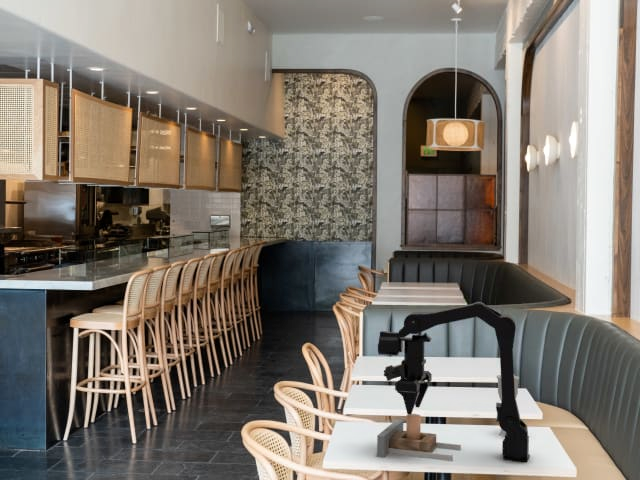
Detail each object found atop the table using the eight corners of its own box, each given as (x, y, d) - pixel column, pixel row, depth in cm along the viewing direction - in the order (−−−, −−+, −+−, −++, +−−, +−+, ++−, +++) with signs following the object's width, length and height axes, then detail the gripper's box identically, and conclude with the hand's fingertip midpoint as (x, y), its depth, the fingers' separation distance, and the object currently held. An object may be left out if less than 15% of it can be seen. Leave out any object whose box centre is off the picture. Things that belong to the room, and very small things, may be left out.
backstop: (463, 446, 237) (463, 425, 236) (449, 465, 218) (449, 443, 218) (396, 439, 244) (396, 419, 244) (377, 456, 225) (377, 435, 225)
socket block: (436, 447, 234) (436, 434, 234) (428, 457, 225) (428, 442, 225) (399, 443, 238) (399, 430, 238) (390, 452, 229) (390, 438, 229)
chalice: (523, 436, 248) (524, 378, 247) (504, 438, 245) (505, 379, 245) (509, 430, 254) (510, 374, 254) (491, 432, 252) (491, 375, 251)
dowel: (421, 445, 233) (422, 414, 233) (418, 449, 229) (418, 417, 229) (408, 444, 234) (408, 413, 234) (404, 447, 231) (404, 416, 230)
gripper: (396, 349, 243) (395, 401, 243) (377, 359, 225) (377, 415, 226) (432, 352, 239) (431, 404, 239) (416, 362, 221) (415, 419, 222)
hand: (413, 410), depth 232 cm, fingers open, 9 cm apart
